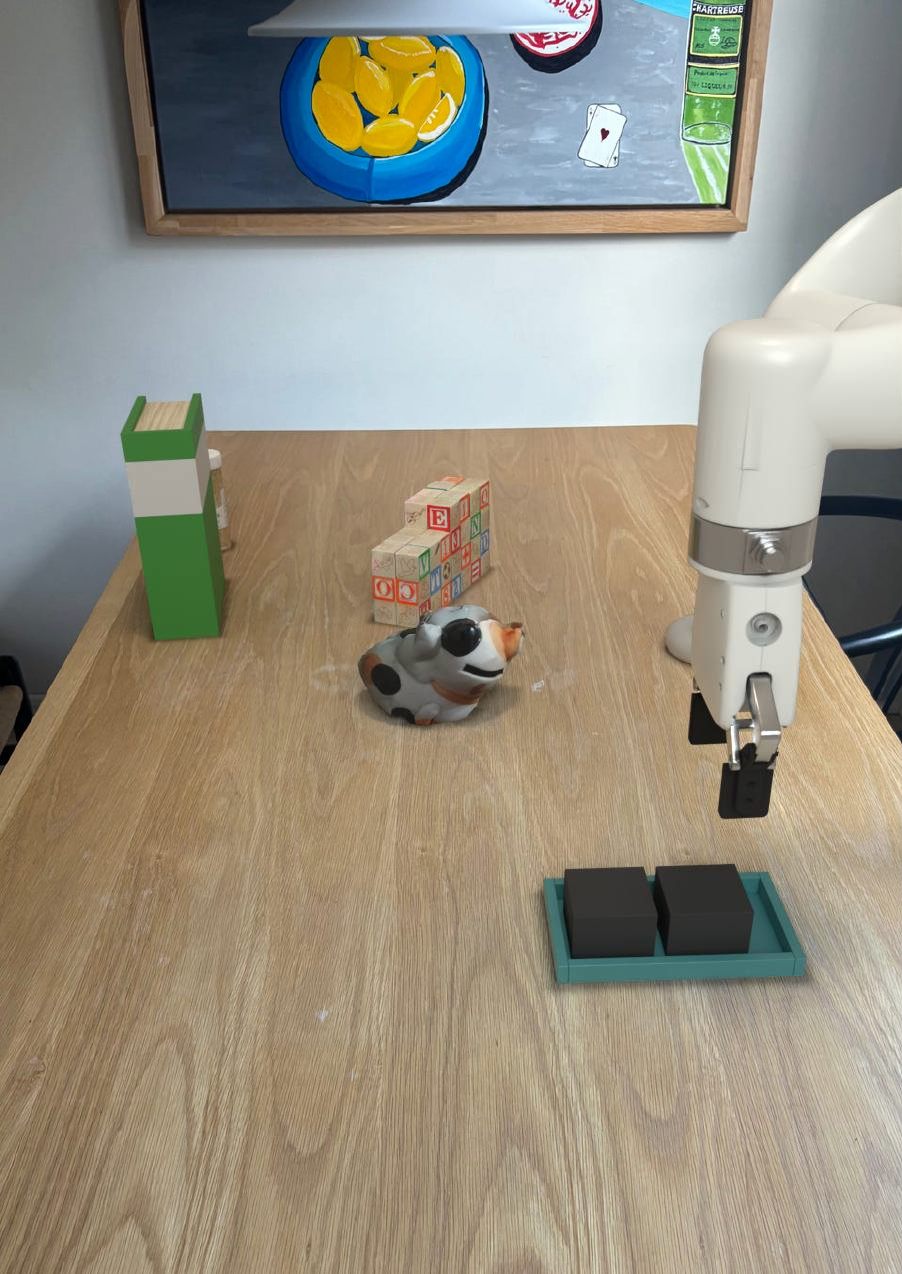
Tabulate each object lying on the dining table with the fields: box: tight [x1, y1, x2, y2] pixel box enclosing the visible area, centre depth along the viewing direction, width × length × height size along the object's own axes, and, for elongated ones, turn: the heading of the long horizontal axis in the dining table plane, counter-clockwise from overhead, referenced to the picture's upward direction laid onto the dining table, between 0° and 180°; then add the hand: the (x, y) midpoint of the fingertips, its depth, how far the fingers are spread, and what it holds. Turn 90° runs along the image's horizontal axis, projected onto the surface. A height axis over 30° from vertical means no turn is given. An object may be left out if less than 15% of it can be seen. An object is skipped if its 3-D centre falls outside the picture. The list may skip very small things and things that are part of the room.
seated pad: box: [563, 866, 658, 959], centre depth 85 cm, size 6×6×4 cm
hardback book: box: [119, 392, 226, 641], centre depth 136 cm, size 18×7×24 cm, turn 7°
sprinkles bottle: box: [208, 448, 232, 552], centre depth 158 cm, size 5×5×14 cm
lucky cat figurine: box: [357, 603, 527, 727], centre depth 116 cm, size 15×12×14 cm
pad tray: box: [542, 871, 808, 984], centre depth 86 cm, size 18×11×2 cm, turn 91°
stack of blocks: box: [370, 475, 491, 629], centre depth 142 cm, size 21×6×12 cm, turn 156°
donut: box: [664, 613, 694, 665], centre depth 128 cm, size 10×4×10 cm
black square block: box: [653, 863, 754, 956], centre depth 85 cm, size 6×6×4 cm
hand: (725, 777), depth 80 cm, fingers open, 9 cm apart
